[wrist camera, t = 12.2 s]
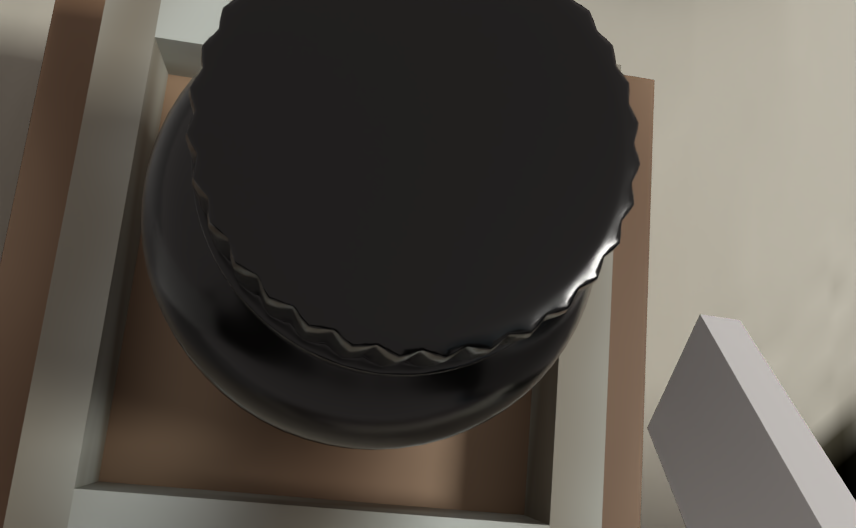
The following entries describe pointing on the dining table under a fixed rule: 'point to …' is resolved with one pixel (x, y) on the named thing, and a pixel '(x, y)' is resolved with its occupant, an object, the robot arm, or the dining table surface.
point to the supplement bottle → (387, 208)
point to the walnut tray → (198, 398)
